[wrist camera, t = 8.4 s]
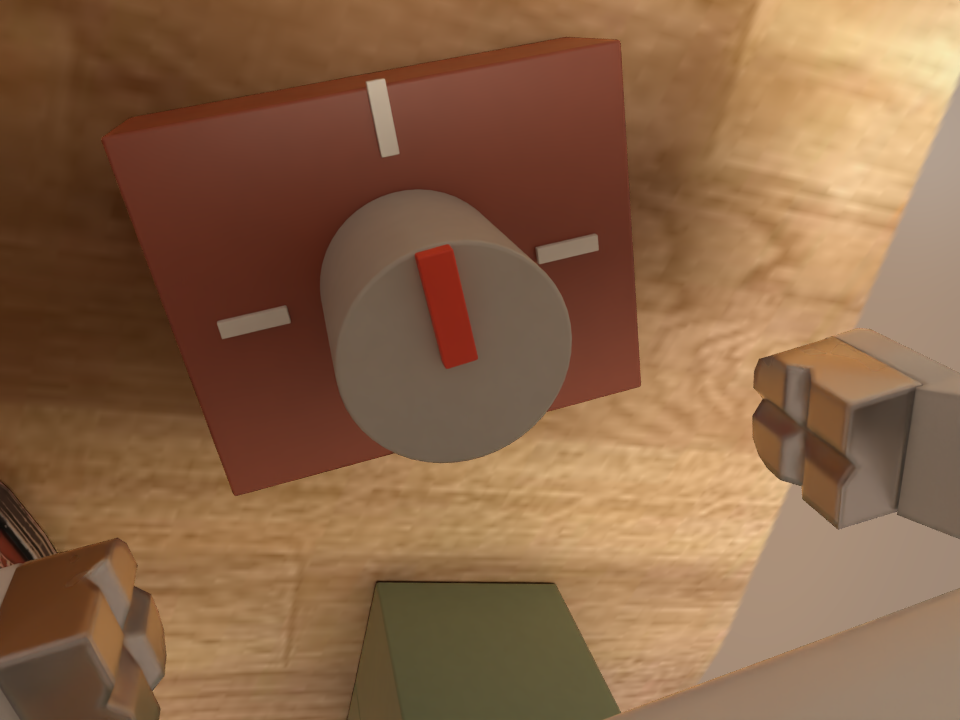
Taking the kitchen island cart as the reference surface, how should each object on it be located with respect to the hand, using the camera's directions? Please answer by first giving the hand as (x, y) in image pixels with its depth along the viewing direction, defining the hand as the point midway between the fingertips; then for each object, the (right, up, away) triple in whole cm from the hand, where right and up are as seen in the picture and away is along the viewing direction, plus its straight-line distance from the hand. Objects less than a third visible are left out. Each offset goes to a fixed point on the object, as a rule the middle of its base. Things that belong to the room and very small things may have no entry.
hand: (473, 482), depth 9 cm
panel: (-2, +4, +9) cm, 10 cm away
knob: (-1, +3, +6) cm, 7 cm away
